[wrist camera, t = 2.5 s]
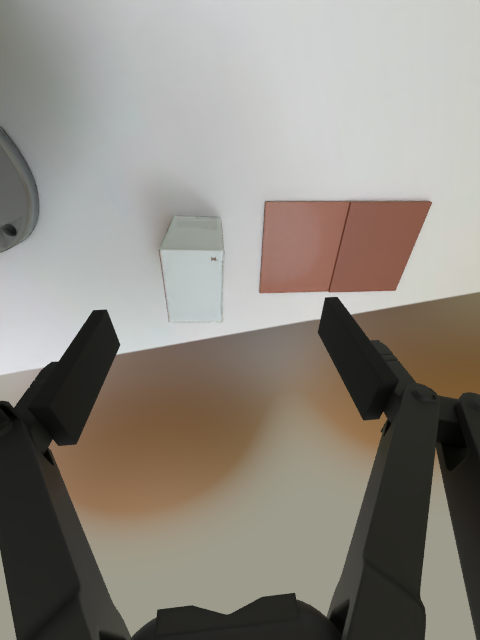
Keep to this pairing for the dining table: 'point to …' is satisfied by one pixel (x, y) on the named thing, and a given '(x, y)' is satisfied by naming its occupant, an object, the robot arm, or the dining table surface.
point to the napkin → (338, 244)
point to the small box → (193, 269)
